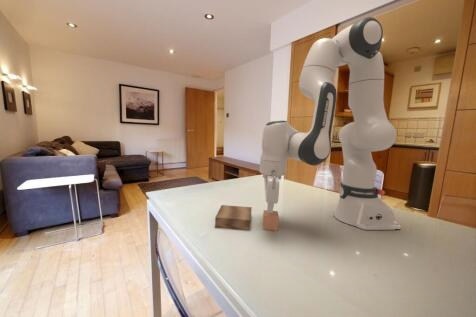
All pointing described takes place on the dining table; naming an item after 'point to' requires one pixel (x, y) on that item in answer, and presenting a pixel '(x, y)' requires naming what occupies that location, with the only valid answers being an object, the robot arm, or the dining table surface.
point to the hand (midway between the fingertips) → (269, 206)
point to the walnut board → (233, 217)
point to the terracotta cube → (270, 220)
